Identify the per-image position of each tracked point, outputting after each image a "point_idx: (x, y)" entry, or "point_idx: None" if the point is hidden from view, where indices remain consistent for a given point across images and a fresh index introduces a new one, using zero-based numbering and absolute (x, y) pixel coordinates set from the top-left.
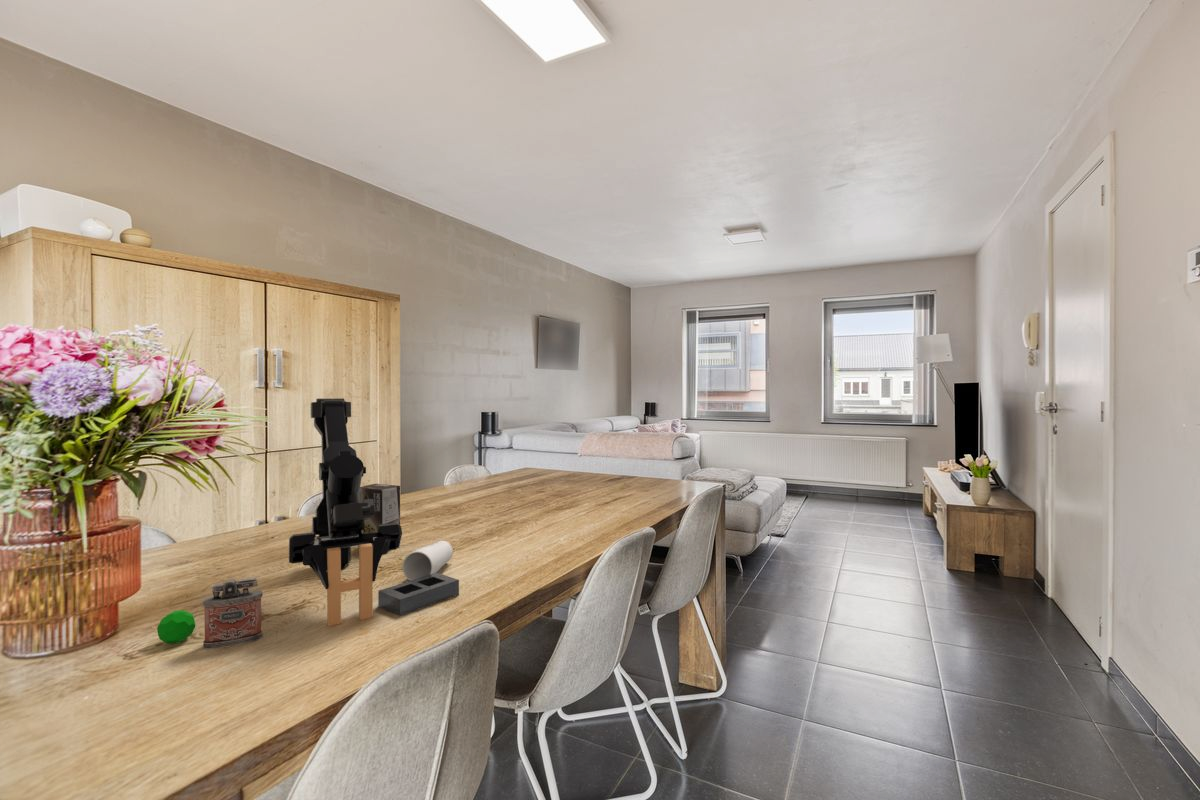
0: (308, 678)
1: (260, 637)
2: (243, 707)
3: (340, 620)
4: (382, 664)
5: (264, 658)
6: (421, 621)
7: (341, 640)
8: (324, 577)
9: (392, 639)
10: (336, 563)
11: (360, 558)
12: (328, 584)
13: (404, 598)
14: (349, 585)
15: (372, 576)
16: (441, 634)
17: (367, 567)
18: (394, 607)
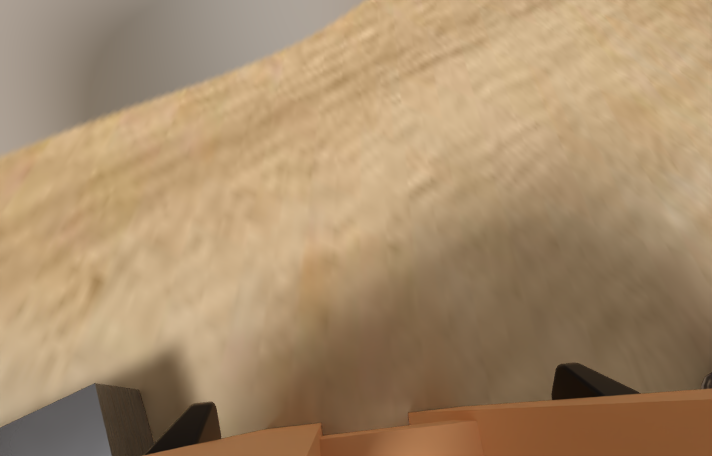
0: (457, 67)
1: (705, 386)
2: (557, 23)
3: (412, 413)
4: (289, 56)
5: (608, 210)
6: (81, 282)
7: (395, 238)
8: None
9: (232, 174)
10: (635, 398)
11: (314, 440)
12: (566, 369)
13: (64, 398)
14: (403, 427)
15: (209, 430)
16: (73, 143)
17: (235, 441)
18: (139, 444)
